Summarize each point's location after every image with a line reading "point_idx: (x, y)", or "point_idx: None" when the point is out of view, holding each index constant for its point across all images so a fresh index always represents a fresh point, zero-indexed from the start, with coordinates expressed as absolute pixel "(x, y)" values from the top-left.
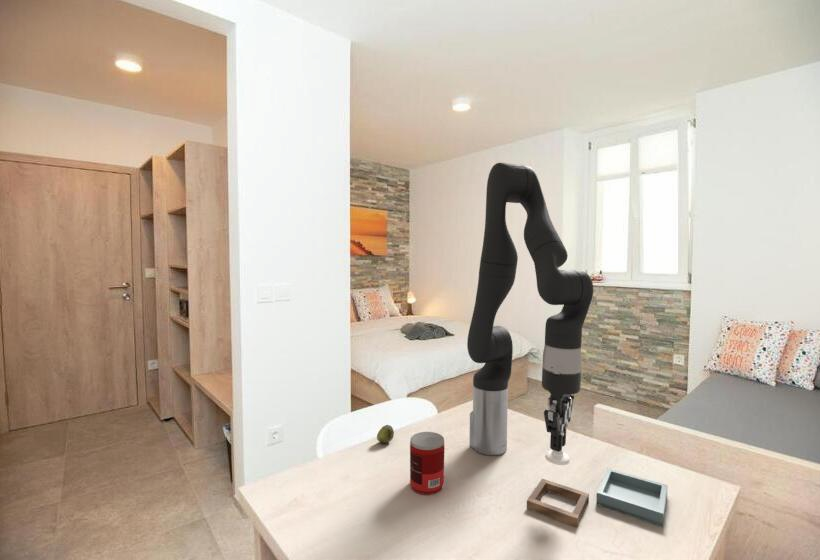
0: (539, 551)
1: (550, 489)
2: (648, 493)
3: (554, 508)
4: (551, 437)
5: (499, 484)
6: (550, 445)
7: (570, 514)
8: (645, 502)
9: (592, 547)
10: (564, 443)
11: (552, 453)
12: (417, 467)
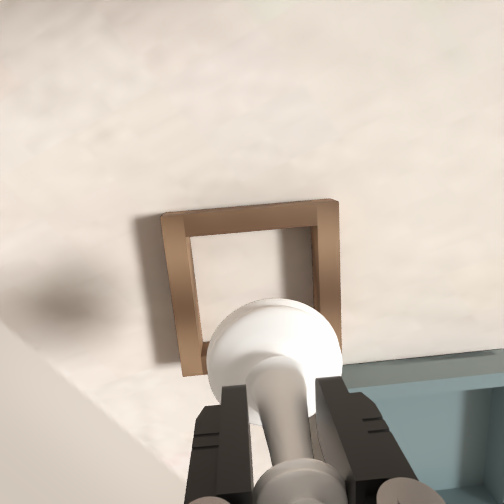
0: (12, 322)
1: (313, 238)
2: (469, 461)
3: (182, 308)
4: (217, 455)
5: (237, 57)
6: (222, 397)
7: (188, 355)
8: (415, 465)
9: (135, 412)
10: (323, 449)
11: (253, 360)
12: None
